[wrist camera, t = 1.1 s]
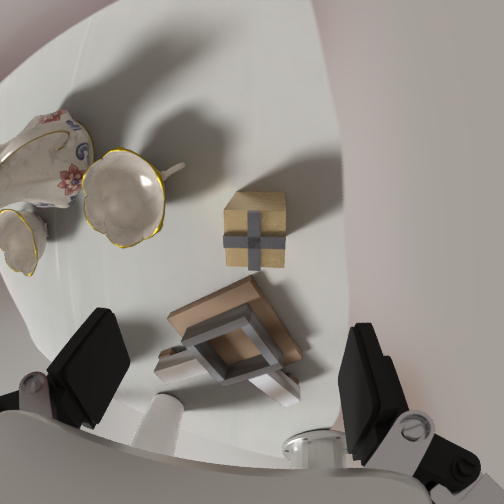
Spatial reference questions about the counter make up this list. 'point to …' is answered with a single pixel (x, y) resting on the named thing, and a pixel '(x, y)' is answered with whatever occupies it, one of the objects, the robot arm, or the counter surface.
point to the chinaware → (74, 188)
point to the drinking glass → (159, 426)
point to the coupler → (255, 230)
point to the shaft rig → (233, 342)
